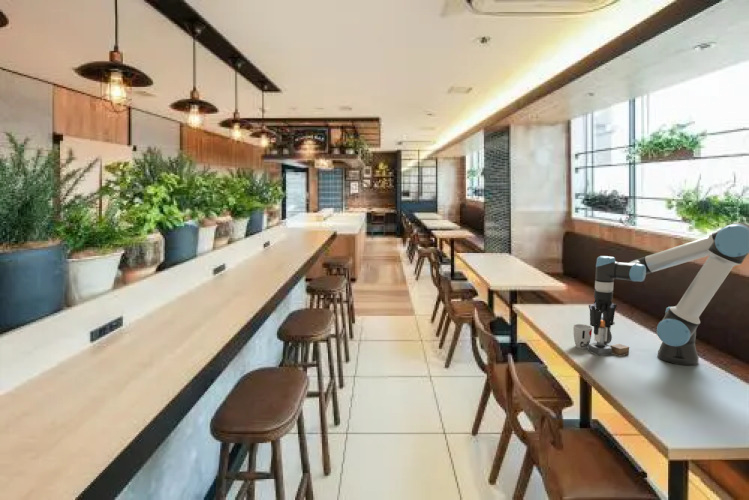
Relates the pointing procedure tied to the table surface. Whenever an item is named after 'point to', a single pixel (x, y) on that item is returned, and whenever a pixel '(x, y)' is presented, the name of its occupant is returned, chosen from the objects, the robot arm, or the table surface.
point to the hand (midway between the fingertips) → (600, 340)
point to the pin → (601, 334)
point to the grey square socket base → (599, 349)
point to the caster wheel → (609, 336)
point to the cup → (582, 335)
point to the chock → (620, 349)
